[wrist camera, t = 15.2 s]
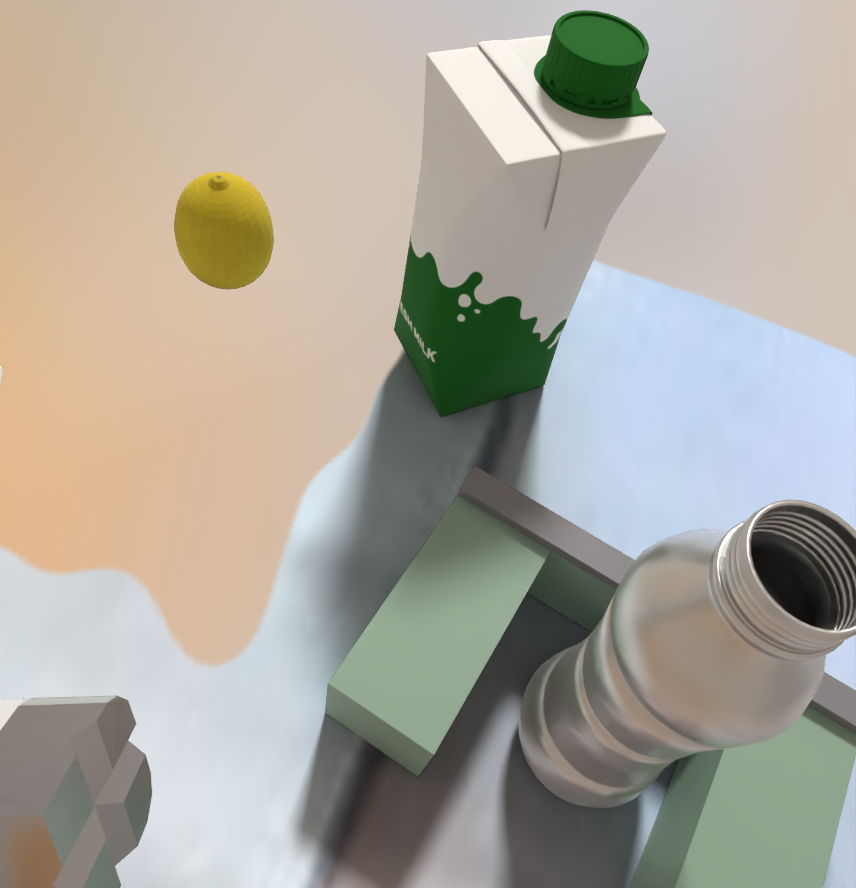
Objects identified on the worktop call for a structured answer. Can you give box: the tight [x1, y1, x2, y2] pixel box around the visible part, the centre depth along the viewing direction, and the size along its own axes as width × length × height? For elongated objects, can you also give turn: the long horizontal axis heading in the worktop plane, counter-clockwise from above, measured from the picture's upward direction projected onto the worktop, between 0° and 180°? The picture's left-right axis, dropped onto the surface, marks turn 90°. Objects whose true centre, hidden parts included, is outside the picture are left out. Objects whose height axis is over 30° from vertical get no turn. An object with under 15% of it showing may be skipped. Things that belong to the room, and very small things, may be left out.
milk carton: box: [394, 11, 666, 417], centre depth 39 cm, size 9×9×20 cm
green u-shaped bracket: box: [325, 466, 856, 888], centre depth 34 cm, size 20×12×6 cm, turn 59°
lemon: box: [174, 172, 274, 289], centre depth 44 cm, size 6×6×8 cm
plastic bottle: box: [518, 500, 856, 808], centre depth 27 cm, size 6×7×20 cm
